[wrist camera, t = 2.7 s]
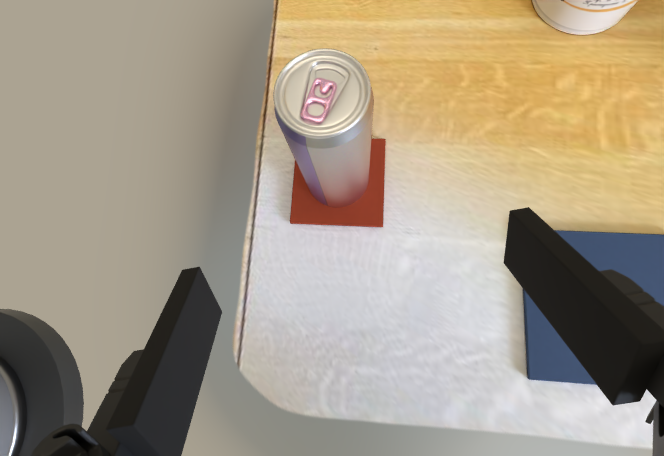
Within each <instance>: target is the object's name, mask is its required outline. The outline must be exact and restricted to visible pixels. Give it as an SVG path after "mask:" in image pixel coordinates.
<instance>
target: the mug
mask: <svg viewBox="0 0 664 456" xmlns="http://www.w3.org/2000/svg"><path fill="white" fill-rule="evenodd" d="M638 1H639V0H532V3H533V6H534V8H535V10H536V12H537V13H538V15H539V16H540V17H541V18H542V19H543V20H544V21H545V22H546V23H548V24H549V25H550V26H552V27H554V28H555V29H558V30H560V31H563V32H566V33H570V34H577V35H588V34H595V33H599V32H602V31H604V30H607V29H609V28H611V27H612V26H614V25H615V24H617V23H618V22H619V21H620V20H621V19H622V18H623V17H624V16H625V15H626V14H627V13H628V12H629V10H630V9H631V8H632V7H633V6H634V5H635V4H636V3H637V2H638Z"/></svg>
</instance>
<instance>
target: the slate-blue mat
mask: <svg viewBox="0 0 664 456" xmlns="http://www.w3.org/2000/svg"><path fill="white" fill-rule="evenodd" d="M554 231H555V232H557V233H558V234H559V235H560V236H561V237H562V238H563V239H564V240H565V241H566V242H568V243H569V244H570V245H571V246H572V247H573V248H574V249H575V250H576V251H577V252H579V253H580V254H581V255H582V256H583V257H584V258H585V259H586V260H587V261H589V262H590V263H591V264H592V265H593V266H594V267H595V268H596V269H597V270H598V271H603V270H609V269H613V270H615V271H617V272H619V273H621V274H623V275H625V276H627V277H629V278H630V279H632V280H633V281H634V282H635V283H636V284H638V285H639V286H640V287H641V288H642V289H644V292H647V293H648V294H650V295H651V296H652V297H653V298H654V299H655V301H656V302H659V303H660V304H661V305H663V306H664V235H659V234H633V233H608V232H582V231H556V230H554ZM523 295H524V315H525V335H526V354H527V374H528V379H531V380H544V381H557V382H570V383H583V384H596V383H595V381H594V380H593V379H592V378H591V376H590V375H589V374H588V372H587V371H586V370H585V368H584V367H583V366H582V364H581V363H580V362H579V361H578V359H577V358H576V357H575V355H574V354H573V353H572V351H571V350H570V349H569V347H568V346H567V345H566V344H565V342H564V341H563V340H562V338H561V337H560V336H559V334H558V333H557V332H556V330H555V329H554V328H553V327H552V325H551V324H550V323H549V321H548V320H547V319H546V317H545V316H544V315H543V314H542V312H541V311H540V310H539V308H538V307H537V306H536V304H535V303H534V302H533V300H532V299H531V298H530V297H529V295H528V294H527V293H526V291H525V290H524V289H523ZM596 385H597V384H596Z"/></svg>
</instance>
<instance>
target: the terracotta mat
mask: <svg viewBox="0 0 664 456" xmlns="http://www.w3.org/2000/svg"><path fill="white" fill-rule="evenodd" d="M384 169H385V139H371V152H370V167H369V181H368V185H367V188H366V190H365V192H364V194H363V195H362V196H361V197H360V198H359V199H358V200H357V201H356V202H354V203H352V204H350V205H348V206H344V207H330V206H327V205H324V204H322V203H321V202H319V201H318V200H317V199H316V198H315V197H314V196H313V195H312V193H311V192H310V190H309V188H308V185H307V183H306V181H305V179H304V177H303V175H302V173H301V170H300V168H299V166H298V164H297V162H296V160H295V168H294V180H293V192H292V204H291V216H290V223H291V224H316V225H342V226H367V227H383V203H384Z"/></svg>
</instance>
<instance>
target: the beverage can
mask: <svg viewBox="0 0 664 456" xmlns="http://www.w3.org/2000/svg"><path fill="white" fill-rule="evenodd" d="M273 97H274V105H275V114H276V118H277V121H278V123H279V126H280V128H281V130H282V132H283V134H284V136H285V138H286V141H287V143H288V145H289V147H290V149H291V151H292V153H293V155H294V158H295V160H296V162H297V164H298V166H299V168H300V170H301V173H302V175H303V177H304V179H305V181H306V183H307V185H308V188H309V190H310V192H311V193H312V195H313V196H314V197H315V198H316V199H317V200H318V201H319V202H321V203H322V204H324V205H327V206H330V207H344V206H348V205H350V204H352V203H354V202H356V201H357V200H358V199H359V198H360V197H361V196H362V195H363V194H364V192H365V190H366V188H367V185H368V181H369V167H370V152H371V137H372V121H373V106H374V97H373V91H372V88H371V84H370V80H369V77H368V74H367V72H366V71H365V69H364V67H363V66H362V65H361V64H360V63H359V62H358V61H357V60H356V59H355V58H354V57H352V56H350V55H349V54H347V53H345V52H342V51H339V50H335V49H315V50H311V51H308V52H305V53H302V54H300V55H298V56H297V57H295V58H294V59H292V60H291V61H290V62H289V63H288V64H287V65H286V66H285V67H284V68H283V69H282V71H281V72H280V74H279V76H278V78H277V80H276V83H275V86H274V95H273Z"/></svg>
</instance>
